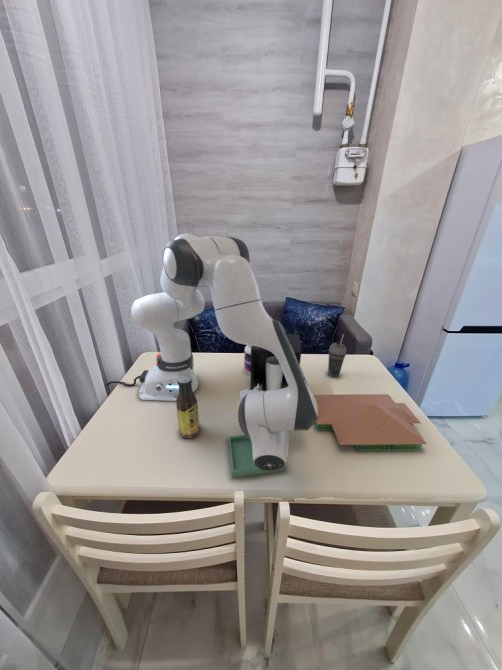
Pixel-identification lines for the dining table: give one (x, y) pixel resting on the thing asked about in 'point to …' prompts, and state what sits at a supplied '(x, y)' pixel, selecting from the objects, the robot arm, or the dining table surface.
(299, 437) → the dining table surface
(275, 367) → the drinking glass
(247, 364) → the pill bottle
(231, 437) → the tray
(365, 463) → the dining table surface
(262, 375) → the black coffee maker
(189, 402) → the sauce bottle
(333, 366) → the beverage cup
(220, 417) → the dining table surface
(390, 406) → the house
